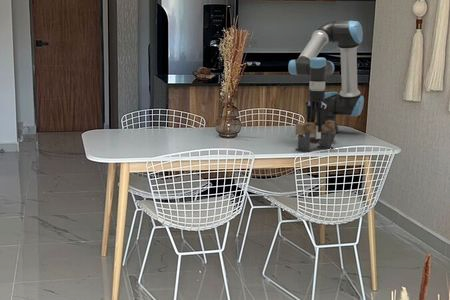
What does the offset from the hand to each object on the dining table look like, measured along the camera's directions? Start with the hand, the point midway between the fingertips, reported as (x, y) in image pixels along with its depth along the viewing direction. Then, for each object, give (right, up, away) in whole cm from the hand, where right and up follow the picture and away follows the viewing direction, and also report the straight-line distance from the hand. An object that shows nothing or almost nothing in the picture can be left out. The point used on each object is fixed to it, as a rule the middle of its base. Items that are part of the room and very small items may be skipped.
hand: (315, 137), depth 290 cm
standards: (0, -6, +1) cm, 6 cm away
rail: (0, +3, 0) cm, 3 cm away
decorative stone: (+8, -2, +23) cm, 25 cm away
